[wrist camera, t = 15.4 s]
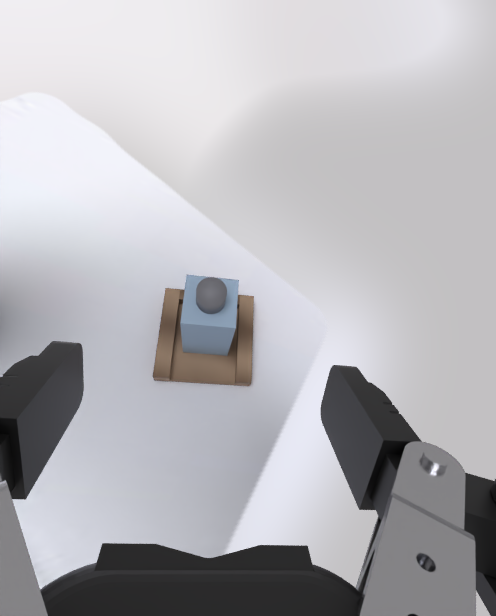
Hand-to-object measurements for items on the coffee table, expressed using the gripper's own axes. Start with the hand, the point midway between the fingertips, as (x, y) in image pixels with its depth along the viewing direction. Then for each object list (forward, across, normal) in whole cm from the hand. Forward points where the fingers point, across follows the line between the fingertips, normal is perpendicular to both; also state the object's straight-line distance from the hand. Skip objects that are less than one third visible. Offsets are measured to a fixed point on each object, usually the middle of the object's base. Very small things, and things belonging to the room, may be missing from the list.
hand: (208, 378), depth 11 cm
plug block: (+26, 0, +11) cm, 28 cm away
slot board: (+26, 0, +11) cm, 28 cm away
